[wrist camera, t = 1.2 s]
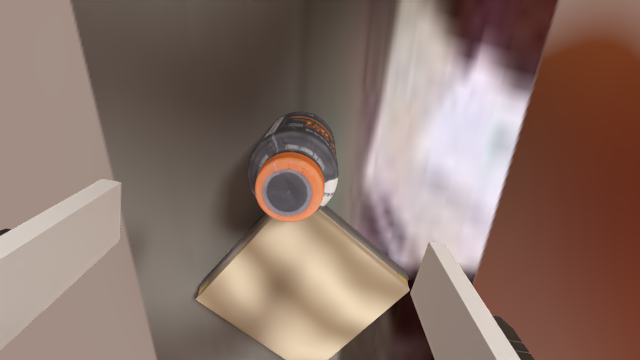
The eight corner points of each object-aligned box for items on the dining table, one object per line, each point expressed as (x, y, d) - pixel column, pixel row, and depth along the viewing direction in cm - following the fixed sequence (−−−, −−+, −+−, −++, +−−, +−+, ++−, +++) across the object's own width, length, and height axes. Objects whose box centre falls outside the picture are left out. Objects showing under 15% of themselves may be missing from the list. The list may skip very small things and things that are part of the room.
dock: (295, 180, 31) (292, 192, 29) (405, 271, 35) (412, 290, 32) (203, 280, 35) (192, 299, 32) (310, 353, 38) (309, 377, 36)
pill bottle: (348, 141, 30) (363, 188, 20) (305, 189, 32) (296, 257, 21) (295, 95, 29) (280, 119, 18) (252, 148, 30) (215, 198, 20)
